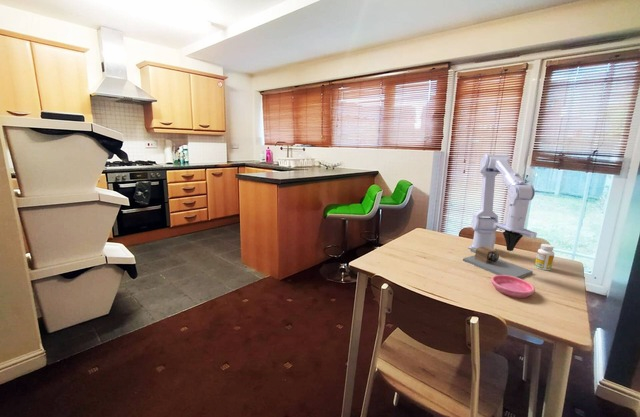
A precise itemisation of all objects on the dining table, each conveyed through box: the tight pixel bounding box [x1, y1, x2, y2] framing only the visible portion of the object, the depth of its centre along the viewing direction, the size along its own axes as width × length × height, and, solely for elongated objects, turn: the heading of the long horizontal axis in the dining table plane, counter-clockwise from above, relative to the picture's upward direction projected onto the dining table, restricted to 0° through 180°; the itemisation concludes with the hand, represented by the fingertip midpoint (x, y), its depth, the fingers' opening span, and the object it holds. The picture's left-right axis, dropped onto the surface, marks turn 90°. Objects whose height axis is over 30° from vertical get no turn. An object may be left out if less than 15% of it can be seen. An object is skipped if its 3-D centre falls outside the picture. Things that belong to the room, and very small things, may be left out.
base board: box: [462, 254, 534, 279], centre depth 117 cm, size 14×20×1 cm
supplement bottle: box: [534, 243, 555, 271], centre depth 116 cm, size 5×5×10 cm
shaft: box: [470, 247, 500, 262], centre depth 121 cm, size 4×10×4 cm, turn 29°
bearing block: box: [474, 246, 497, 263], centre depth 121 cm, size 6×5×5 cm
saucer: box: [490, 274, 536, 299], centre depth 98 cm, size 12×12×3 cm
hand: (509, 250), depth 112 cm, fingers closed
